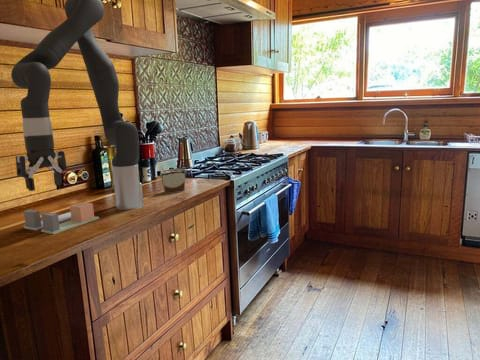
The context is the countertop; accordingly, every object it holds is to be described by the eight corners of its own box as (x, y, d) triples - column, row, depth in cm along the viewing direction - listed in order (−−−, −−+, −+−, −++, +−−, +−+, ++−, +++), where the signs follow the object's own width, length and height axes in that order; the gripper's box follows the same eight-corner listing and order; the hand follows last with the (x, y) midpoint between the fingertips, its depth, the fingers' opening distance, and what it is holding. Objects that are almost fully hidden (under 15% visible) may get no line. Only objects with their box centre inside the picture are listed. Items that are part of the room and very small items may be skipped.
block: (84, 216, 127) (82, 202, 126) (94, 217, 124) (92, 203, 123) (71, 220, 123) (69, 205, 122) (81, 222, 120) (80, 207, 119)
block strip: (87, 216, 128) (85, 201, 127) (99, 218, 126) (97, 202, 125) (41, 231, 114) (38, 214, 113) (53, 234, 111) (51, 216, 110)
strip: (70, 213, 133) (68, 198, 132) (81, 215, 130) (79, 200, 129) (23, 228, 118) (21, 211, 117) (35, 230, 115) (32, 213, 114)
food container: (182, 188, 175) (180, 167, 173) (187, 190, 170) (186, 169, 168) (157, 192, 168) (155, 170, 166) (162, 194, 163) (160, 172, 161)
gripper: (52, 131, 116) (58, 182, 119) (6, 135, 104) (14, 191, 107) (68, 132, 112) (74, 184, 115) (22, 135, 100) (30, 193, 103)
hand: (45, 187), depth 111 cm, fingers open, 8 cm apart
